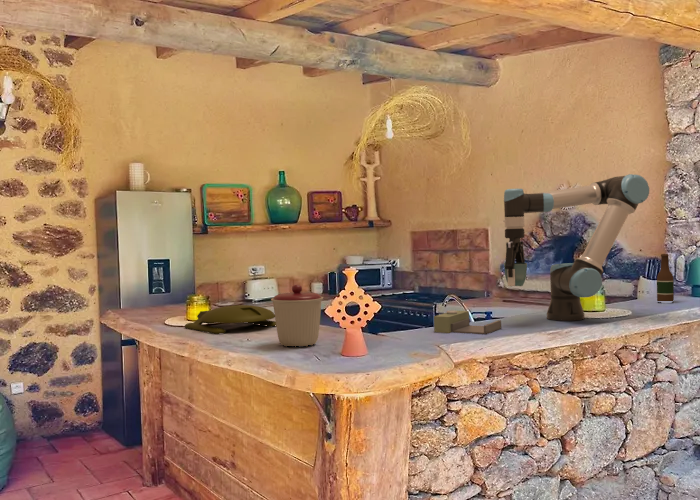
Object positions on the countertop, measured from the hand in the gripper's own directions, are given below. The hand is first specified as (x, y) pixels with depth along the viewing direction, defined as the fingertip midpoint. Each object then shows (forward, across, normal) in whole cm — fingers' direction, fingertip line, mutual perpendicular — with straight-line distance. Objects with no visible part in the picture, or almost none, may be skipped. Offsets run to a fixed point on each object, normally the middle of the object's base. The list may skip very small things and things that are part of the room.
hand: (515, 284), depth 276 cm
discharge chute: (+16, +17, -10) cm, 26 cm away
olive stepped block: (+16, +17, -20) cm, 31 cm away
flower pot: (+1, 0, 0) cm, 1 cm away
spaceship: (+16, +46, -105) cm, 116 cm away
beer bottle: (+17, -103, +41) cm, 112 cm away
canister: (+16, +72, -54) cm, 92 cm away
